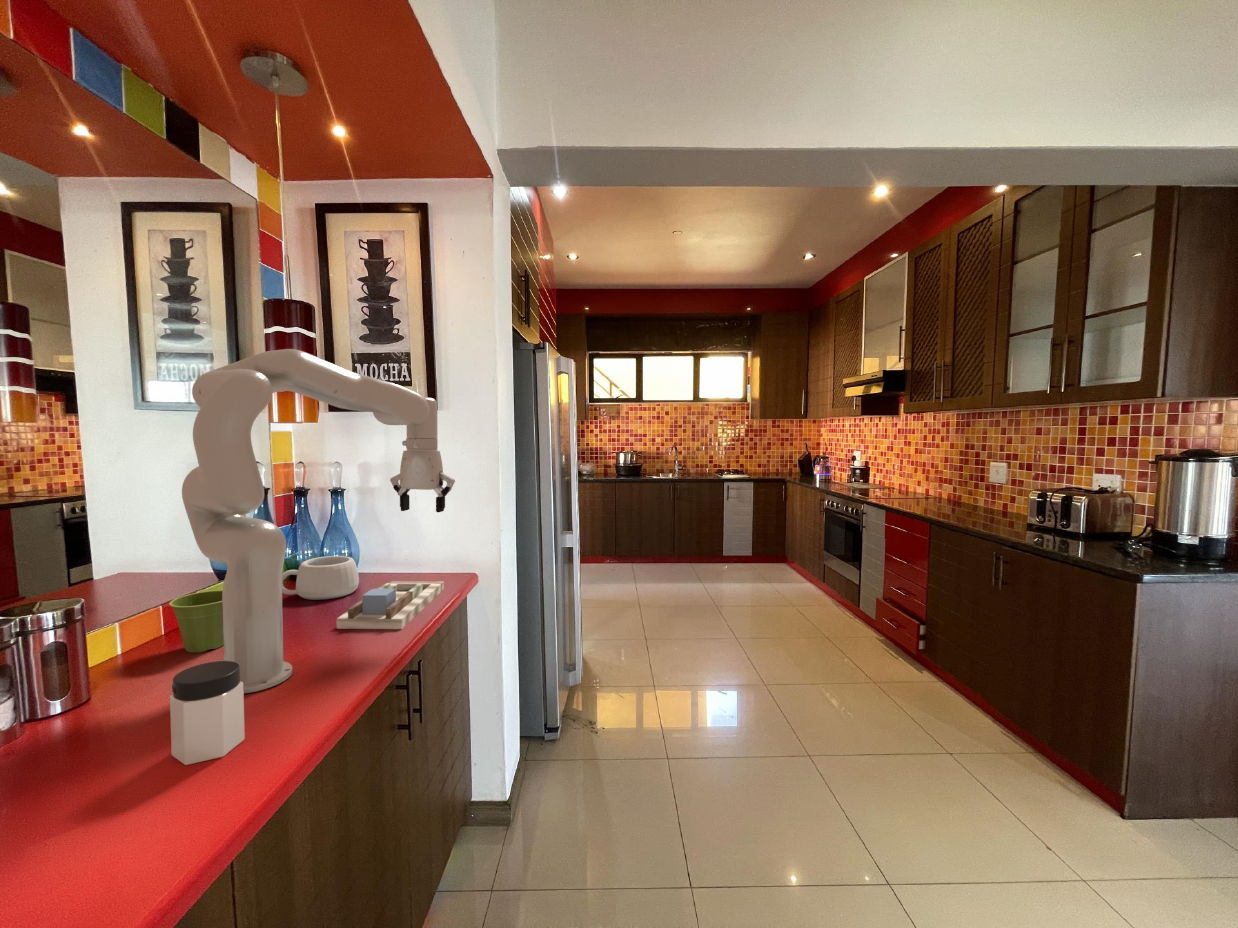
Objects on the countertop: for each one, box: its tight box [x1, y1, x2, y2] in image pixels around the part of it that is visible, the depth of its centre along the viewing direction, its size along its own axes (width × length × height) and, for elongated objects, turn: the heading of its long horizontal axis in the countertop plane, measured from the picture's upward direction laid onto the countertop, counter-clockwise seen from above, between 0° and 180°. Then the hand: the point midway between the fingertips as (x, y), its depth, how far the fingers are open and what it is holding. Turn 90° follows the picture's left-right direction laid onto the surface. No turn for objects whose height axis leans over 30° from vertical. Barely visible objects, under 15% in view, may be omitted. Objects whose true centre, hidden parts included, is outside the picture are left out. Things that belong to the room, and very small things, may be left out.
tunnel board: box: [336, 580, 445, 630], centre depth 149 cm, size 34×16×5 cm, turn 1°
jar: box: [169, 660, 246, 766], centre depth 82 cm, size 9×8×12 cm
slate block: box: [361, 588, 396, 615], centre depth 138 cm, size 6×6×5 cm
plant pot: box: [168, 589, 224, 654], centre depth 119 cm, size 12×12×11 cm
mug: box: [282, 555, 360, 601], centre depth 159 cm, size 21×17×10 cm
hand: (422, 511), depth 139 cm, fingers open, 9 cm apart
